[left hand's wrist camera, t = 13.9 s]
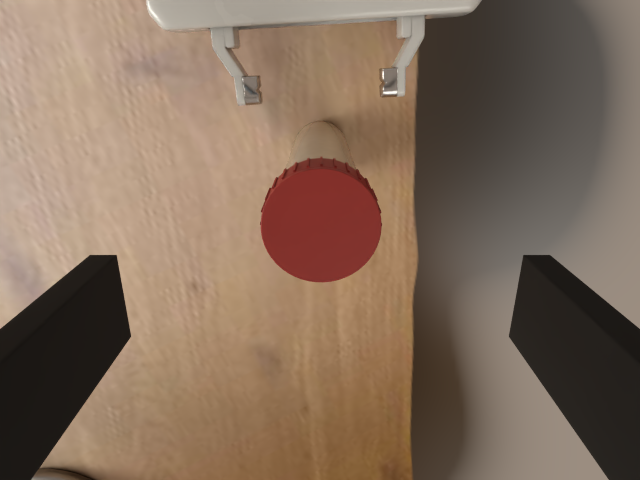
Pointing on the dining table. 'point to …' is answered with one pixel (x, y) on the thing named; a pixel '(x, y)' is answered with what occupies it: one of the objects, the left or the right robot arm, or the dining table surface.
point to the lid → (321, 220)
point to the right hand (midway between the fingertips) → (321, 100)
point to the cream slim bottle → (320, 144)
